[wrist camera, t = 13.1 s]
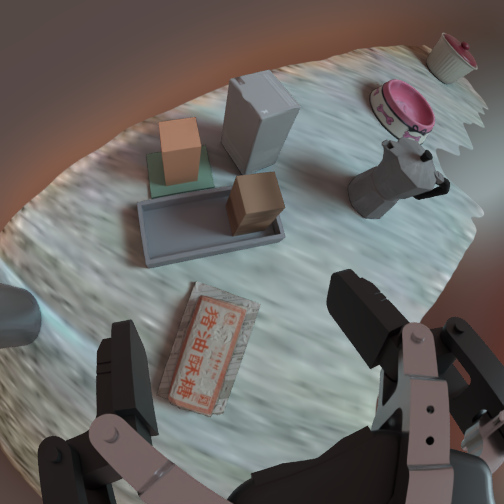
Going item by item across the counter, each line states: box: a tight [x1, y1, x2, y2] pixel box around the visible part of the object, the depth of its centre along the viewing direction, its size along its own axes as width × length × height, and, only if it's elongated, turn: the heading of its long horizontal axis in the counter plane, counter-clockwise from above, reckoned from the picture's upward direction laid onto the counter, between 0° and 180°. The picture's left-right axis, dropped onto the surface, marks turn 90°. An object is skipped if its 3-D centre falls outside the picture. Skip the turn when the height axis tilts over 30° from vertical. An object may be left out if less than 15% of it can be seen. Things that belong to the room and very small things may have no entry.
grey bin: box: [137, 186, 285, 268], centre depth 42 cm, size 20×9×3 cm, turn 104°
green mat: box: [146, 145, 215, 199], centre depth 44 cm, size 10×8×1 cm
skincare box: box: [221, 70, 301, 175], centre depth 40 cm, size 8×7×16 cm
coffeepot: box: [348, 137, 450, 219], centre depth 43 cm, size 15×9×18 cm, turn 72°
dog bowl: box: [370, 79, 435, 145], centre depth 57 cm, size 18×19×7 cm
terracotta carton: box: [159, 117, 201, 186], centre depth 39 cm, size 5×5×10 cm
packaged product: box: [157, 281, 261, 417], centre depth 37 cm, size 18×5×10 cm
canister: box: [427, 33, 477, 84], centre depth 66 cm, size 18×18×21 cm
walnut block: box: [226, 172, 285, 237], centre depth 39 cm, size 5×5×10 cm
